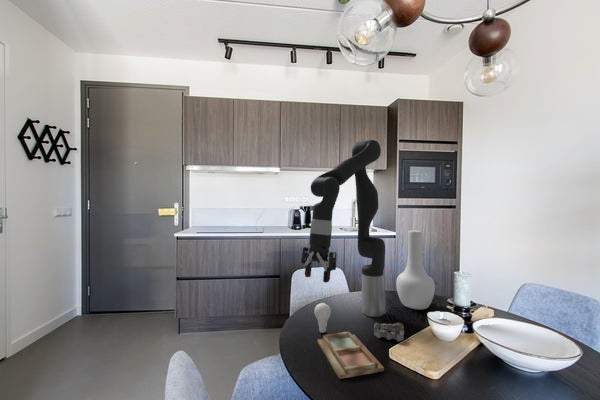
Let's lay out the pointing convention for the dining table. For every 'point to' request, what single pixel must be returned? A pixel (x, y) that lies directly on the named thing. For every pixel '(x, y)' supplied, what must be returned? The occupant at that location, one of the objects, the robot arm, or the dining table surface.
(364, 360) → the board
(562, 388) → the dining table surface
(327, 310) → the lightbulb
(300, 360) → the dining table surface
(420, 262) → the vase
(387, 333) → the egg carton
